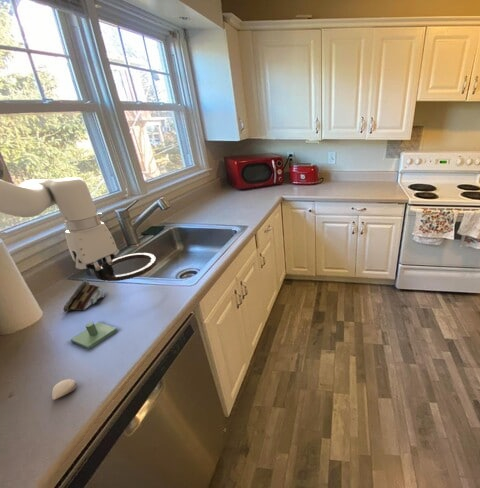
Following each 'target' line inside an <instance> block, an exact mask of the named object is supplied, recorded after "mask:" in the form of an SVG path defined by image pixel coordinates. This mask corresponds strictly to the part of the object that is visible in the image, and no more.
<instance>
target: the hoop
mask: <svg viewBox="0 0 480 488" xmlns="http://www.w3.org/2000/svg"><path fill="white" fill-rule="evenodd" d="M135 259H148V260H150V261H149V262H148V263H147V264H146V265H144V266H143V267H141V268H139V269H136V270H134V271H131V272H127V273H122V274H114V275H109V274H106V273H105V274H106V277H107V280H106V281H105V282H120V281H125V280H130V279H135V278H136V277H139V276H142V275H144V274H146V273H148V272H150V271H152V269H154V268H155V267H156V265H157V262H158V260H157V257H156V255H154V254H153V253H148V252H136V253H130V254H125V255H122V256H117V257H116V258H115V257H114V258H113V260H112V264H111V266H112V267H113V266H116V265H117V264H119V263H122V262H123V263H124V262H126V261H129V260H135ZM100 268H102V265H101V266H100ZM102 269H103V268H102Z"/></svg>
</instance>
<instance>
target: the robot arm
mask: <svg viewBox="0 0 480 488" xmlns="http://www.w3.org/2000/svg"><path fill="white" fill-rule="evenodd" d="M54 205H55V206H56V207H57V208H58V211H59V213H60V215H61V217H62V219H63V222H64V224H65V226H66V228H67V230H65V231H64V235H65V240H66V245H67V248H68V251H69V253H70V256H71V259H72V260H73V262H75V269H77V270H86V269H89V270H93V273H94V275H95V277H96V279H98V280H99V281H103V282H107V281H106V280H107V277H106V274H109V275H115V274H114V272H115V271H114V268H113V266H111V264H112V260H113V259H115V257H116V256H117V255H118V254H119V253H120V250H119V248H118V247H117V244H116V241H115V239H114V237H113V235H112V233H111V231H110V230H109V229H108V227H107V225H106V224H105V222H103V221H102V218H104V217H105V215H104V213H102V212H98V211H97V208H96V205H95V202H94V200H93V197H92V196H91V193H90V190H89V187H88V184H87V183H86V180H84V178H81V177H76V176H72V177H71V176H70V177H61V178H56V179H44V178H43V179H41V178H39V179H38V178H32V179H26V180H23V181H21V182H19V183H17V184H14V183H12V182H8V181H6V180H3V179H0V213H2V214H4V215H5V214H6V215H9V216H13V217H18V218H32V217H33V218H34V217H37V216H40V215H41V214H42V213H44V212H45V211H46V210H47V209H48V208H50V207H52V206H54ZM99 260H101V262H102V264H101V266H102V268H103V269H102V268H100V267H101V266H100V264H99ZM105 273H106V274H105Z"/></svg>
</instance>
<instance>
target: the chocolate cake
mask: <svg viewBox="0 0 480 488" xmlns="http://www.w3.org/2000/svg"><path fill="white" fill-rule="evenodd" d="M104 297H105V291H104V288H103V287H102V286H100V285H96V284H91V283H90V282H89V281H88V280H87V278H84V279H83V280H82V282H81V283H79V285H78V286H77V288H76V289H75V291H74V292H73V294H72V295H71V297H70V298H69V300H67V301H66V303H65V304H64V306H63V309H62V310H63V312H64V313H67V312H70V311H72V310H75V311H84V310H87V308H89V307H90V306H91V305H97V304H98V300H99V299H100V298H101V299H102V298H104Z"/></svg>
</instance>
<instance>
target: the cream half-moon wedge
mask: <svg viewBox="0 0 480 488" xmlns="http://www.w3.org/2000/svg"><path fill="white" fill-rule="evenodd" d="M76 386H77V382H76V381H75V380H74V379H72V378H71V379H70V378H68V379H63V380H61V381H59V382H58V383H56V384H55V385H54V386H53V388H52V391H51V398H52V400H57V399H60V398H62V397H63V396H66V395H67V394H69V393H71V392H72V391H74V389H75V388H76Z"/></svg>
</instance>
